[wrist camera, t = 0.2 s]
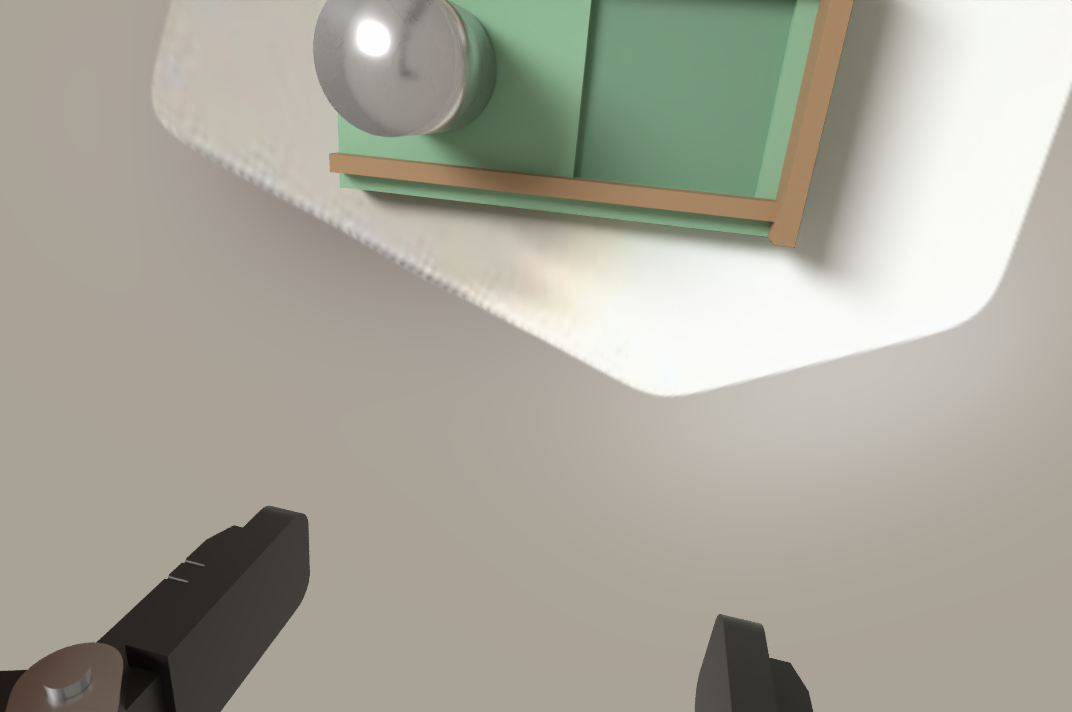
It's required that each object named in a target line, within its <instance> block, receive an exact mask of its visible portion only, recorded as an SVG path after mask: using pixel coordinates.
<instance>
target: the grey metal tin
mask: <svg viewBox="0 0 1072 712" xmlns="http://www.w3.org/2000/svg"><path fill="white" fill-rule="evenodd" d="M313 54H314V63H315V68H316V73H317V76H318V79H319V82H320V85H321V87H322V89H323V91H324V93H325V95H326V97H327V99H328V100H329V102H330V103H331V105H332V106H333V107H334V109H335V110H336V111H337V112H338V113H339V114H340V115H341V116H342V117H343V118H344V119H345V120H346V121H347V122H349V123H350V124H351V125H353V126H354V127H356V128H358V129H360V130H362V131H364V132H366V133H369V134H372V135H375V136H381V137H400V136H410V135H421V134H432V133H443V132H451V131H455V130H459V129H461V128H463V127H466V126H467V125H469V124H470V123H472V122H473V121H474V120H475V119H477V118H478V117H479V116H480V115H481V113H482V112H483V111H484V110H485V108H486V107H487V105H488V103H489V101H490V99H491V97H492V94H493V92H494V88H495V84H496V77H497V62H496V55H495V51H494V47H493V44H492V41H491V39H490V37H489V35H488V33H487V31H486V30H485V28H484V27H483V25H482V24H481V23H480V21H479V20H478V19H477V18H476V17H475V16H474V15H473V14H471V13H470V12H469V11H467V10H466V9H464V8H463V7H461V6H459V5H457V4H455V3H453V2H452V1H450V0H327V1H326V3H325V5H324V6H323V8H322V10H321V12H320V15H319V18H318V20H317V24H316V28H315V33H314V41H313Z"/></svg>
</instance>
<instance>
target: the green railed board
mask: <svg viewBox="0 0 1072 712" xmlns="http://www.w3.org/2000/svg"><path fill="white" fill-rule="evenodd" d="M450 1H452V2H453V3H455V4H457V5H459V6H461V7H463V8H464V9H466V10H467V11H469V12H470V13H471V14H473V15H474V16H475V17H476V18H477V19H478V20H479V21H480V23H481V24H482V25H483V27H484V28H485V30H486V31H487V33H488V35H489V37H490V39H491V41H492V44H493V47H494V51H495V55H496V62H497V77H496V84H495V88H494V92H493V94H492V97H491V99H490V101H489V103H488V105H487V107H486V108H485V110H484V111H483V112H482V113H481V115H480V116H479V117H478V118H477V119H475V120H474V121H473V122H472V123H470V124H469V125H467V126H466V127H463V128H461V129H459V130H455V131H451V132H443V133H432V134H421V135H410V136H400V137H381V136H375V135H372V134H369V133H366V132H364V131H362V130H360V129H358V128H356V127H354V126H353V125H351V124H350V123H349V122H347V121H346V120H345V119H344V118H343V117H342V116H341V115H340V114H339V113H338V132H339V153H332V154H329V159H330V172H336V173H340V187H343V188H352V189H360V190H369V191H377V192H386V193H395V194H403V195H412V196H420V197H429V198H438V199H446V200H455V201H463V202H472V203H481V204H489V205H498V206H506V207H515V208H524V209H532V210H541V211H549V212H558V213H567V214H575V215H584V216H592V217H601V218H610V219H618V220H627V221H635V222H644V223H653V224H661V225H670V226H678V227H687V228H696V229H704V230H713V231H721V232H730V233H739V234H747V235H756V236H764V237H768V238H769V240H770V241H771V242H772V243H773V244H774V245H776V246H785V247H793V248H795V244H796V239H797V235H798V231H799V227H800V223H801V219H802V214H803V210H804V206H805V202H806V198H807V194H808V189H809V185H810V181H811V177H812V173H813V169H814V164H815V160H816V156H817V152H818V148H819V144H820V139H821V135H822V131H823V127H824V123H825V119H826V114H827V110H828V106H829V102H830V98H831V94H832V89H833V85H834V81H835V77H836V73H837V69H838V64H839V60H840V56H841V52H842V48H843V44H844V39H845V35H846V31H847V27H848V23H849V19H850V14H851V10H852V6H853V2H854V0H450Z"/></svg>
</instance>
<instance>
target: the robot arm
mask: <svg viewBox="0 0 1072 712" xmlns="http://www.w3.org/2000/svg"><path fill="white" fill-rule="evenodd" d="M309 576H310V565H309V530H308V519H307V517H306V515H305V514H302V513H298V512H294V511H290V510H285V509H281V508H277V507H273V506H266V507H264V508H263V509H262V510H260V511H259V512H258V513H257V514H256V515H255V516H254V517H253V518H252V519H251V520H250V521H249V522H248V523H247V524H246V525H245V526H244V527H243V528H242V527H238V526H232V527H230V528H228V529H226V530H224V531H222V532H220V533H218V534H216V535H214V536H213V537H211V538H209V539H207V540H206V541H205V542H203V543H202V544H201V545H200V546H199V547H198V548H197V549H196V550H195V551H194V552H193V553H192V554H191V555H190V556H189V557H187V559H186V561H185V563H181V564H180V565H179V566H178V567H177V568H176V569H175V570H174V571H173V572H171V573H170V574H169V577H168V579H164V580H163V581H162V582H161V583H160V584H159V585H158V586H156V587H155V588H154V589H153V590H152V591H151V592H150V593H149V594H148V595H147V596H146V597H145V598H144V599H143V600H141V601H140V602H139V603H138V604H137V605H136V606H135V607H134V608H133V609H132V610H131V611H130V612H129V613H128V614H126V615H125V617H123V618H122V619H121V620H120V621H119V622H118V623H117V624H116V625H115V626H114V627H113V628H112V629H110V630H109V632H107V633H106V634H105V635H104V636H103V637H102V638H101V639H100V640H98V641H97V642H96V643H94V642H92V643H83V644H76V645H72V646H69V647H65V648H63V649H60V650H58V651H55V652H53V653H51V654H49V655H47V656H46V657H44V658H42V659H41V660H39V661H38V662H36V663H35V664H34V665H32V666H31V667H30V668H29V669H28V670H15V671H0V712H221V710H222V709H223V708H224V706H225V705H226V703H227V702H228V701H229V699H230V698H231V697H232V695H233V694H234V693H235V691H236V690H237V689H238V687H239V686H240V685H241V683H242V682H243V681H244V679H245V678H246V677H247V675H248V674H249V673H250V671H251V670H252V669H253V667H254V666H255V665H256V663H257V662H258V661H259V659H260V658H261V656H262V655H263V654H264V652H265V651H266V650H267V648H268V647H269V646H270V644H271V643H272V642H273V640H274V639H275V638H276V636H277V635H278V633H279V632H280V631H281V630H282V628H283V627H284V626H285V624H286V623H287V622H288V620H289V619H290V618H291V616H292V615H293V613H294V612H295V611H296V609H297V608H298V606H299V605H300V603H301V602H302V600H303V598H304V595H305V592H306V590H307V586H308V583H309ZM695 712H813V709H812V704H811V700H810V696H809V691H808V690H807V688H806V687H805V685H804V684H803V682H802V680H801V679H800V677H799V676H798V674H797V673H796V671H795V670H794V668H793V666H792V665H791V663H789V662H784V661H781V660H777V659H773V658H769V654H768V648H767V642H766V637H765V631H764V628H763V626H762V625H761V624H760V623H755V622H751V621H747V620H743V619H738V618H734V617H730V616H726V615H722V614H719V615H718V616H717V618H716V621H715V624H714V627H713V631H712V634H711V637H710V640H709V644H708V647H707V650H706V654H705V657H704V660H703V664H702V667H701V670H700V673H699V678H698V683H697V689H696V698H695Z"/></svg>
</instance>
